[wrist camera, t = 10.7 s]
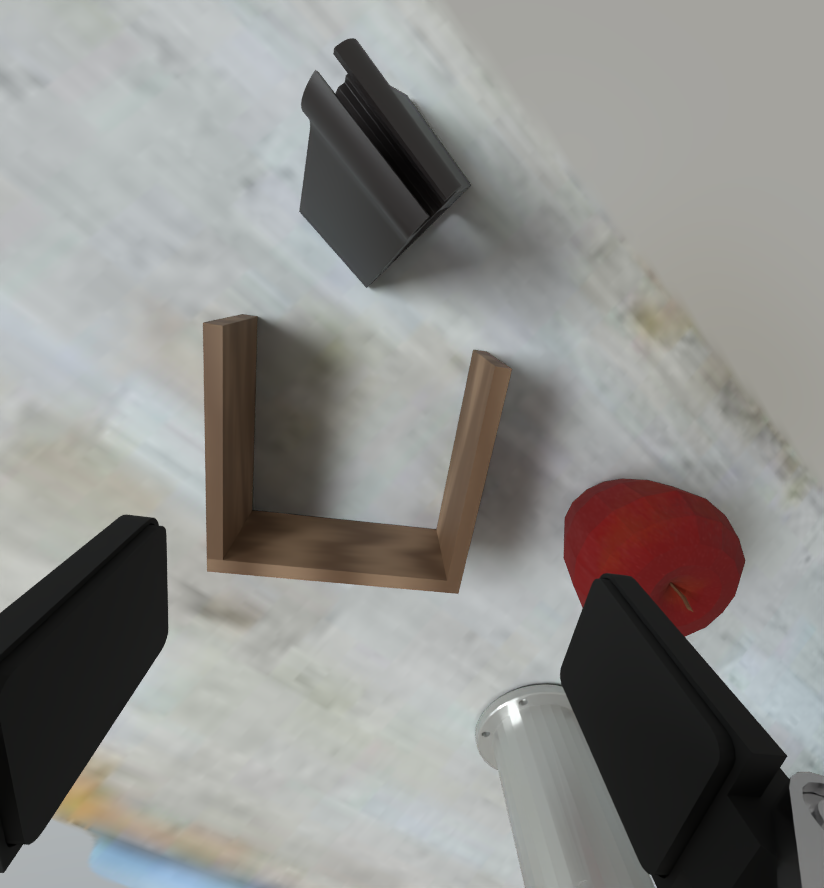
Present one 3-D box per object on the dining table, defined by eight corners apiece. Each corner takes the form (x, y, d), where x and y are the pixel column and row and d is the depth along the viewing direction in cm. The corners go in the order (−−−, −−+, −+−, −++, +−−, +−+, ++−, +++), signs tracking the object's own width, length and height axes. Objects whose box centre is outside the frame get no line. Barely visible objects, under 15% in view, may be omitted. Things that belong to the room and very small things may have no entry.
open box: (486, 351, 30) (512, 368, 24) (445, 540, 36) (458, 593, 30) (242, 314, 28) (203, 322, 22) (239, 519, 34) (207, 571, 28)
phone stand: (407, 97, 25) (424, -58, 13) (470, 187, 26) (532, 116, 15) (300, 211, 26) (236, 159, 15) (366, 288, 28) (352, 291, 17)
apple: (594, 583, 38) (677, 704, 27) (510, 522, 35) (565, 629, 24) (690, 498, 35) (825, 593, 25) (607, 424, 33) (718, 495, 22)
